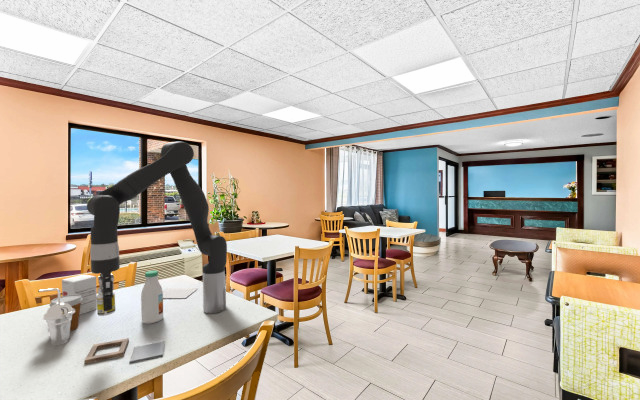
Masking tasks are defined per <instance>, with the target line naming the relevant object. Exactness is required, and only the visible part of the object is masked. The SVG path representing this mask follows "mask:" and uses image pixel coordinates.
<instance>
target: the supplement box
mask: <svg viewBox="0 0 640 400" xmlns="http://www.w3.org/2000/svg"><path fill="white" fill-rule="evenodd" d="M61 289H62V290H61V295H62V296H66V295H74V294H77V295H81V298H82V301H81V306H80V314H79V316H80V315H83V314H86V313H88V312H91V311H94V310H97V295H98V293H97V276H94V275H89V274H79V275H76V276H70V277H67V278H63V279H61ZM62 296H61V297H62Z"/></svg>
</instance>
